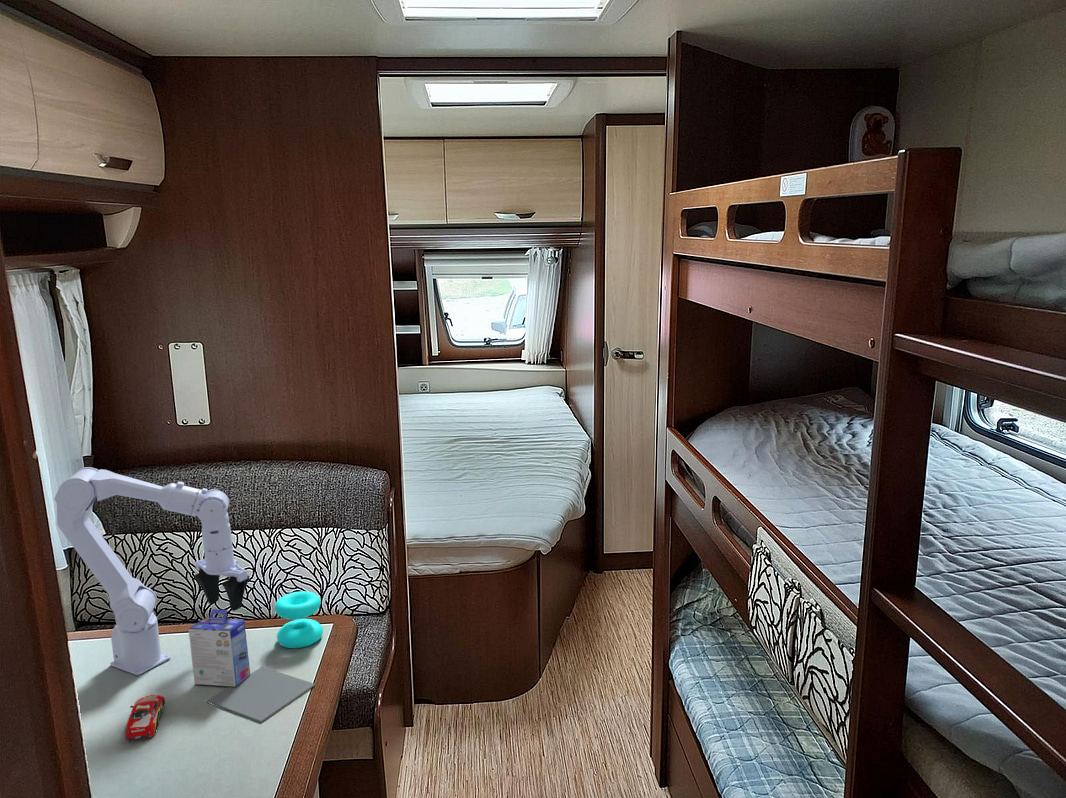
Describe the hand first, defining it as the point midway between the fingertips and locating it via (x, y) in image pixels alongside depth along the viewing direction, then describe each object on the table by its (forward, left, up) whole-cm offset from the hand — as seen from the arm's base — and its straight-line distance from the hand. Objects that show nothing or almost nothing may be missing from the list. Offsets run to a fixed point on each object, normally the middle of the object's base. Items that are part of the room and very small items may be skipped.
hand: (225, 605), depth 165 cm
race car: (+8, -26, -11) cm, 29 cm away
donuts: (+10, +11, -11) cm, 19 cm away
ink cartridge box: (+9, -9, -11) cm, 17 cm away
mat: (+20, -9, -11) cm, 24 cm away
